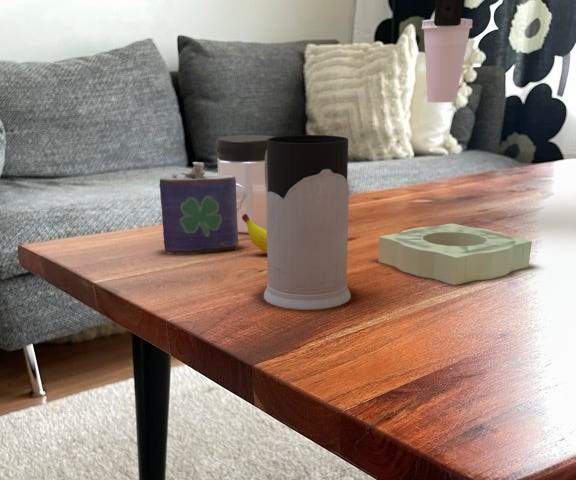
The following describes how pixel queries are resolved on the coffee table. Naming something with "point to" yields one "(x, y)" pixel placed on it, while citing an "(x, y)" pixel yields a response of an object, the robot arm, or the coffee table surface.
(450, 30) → the smoothie
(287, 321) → the coffee table surface
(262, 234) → the fruit
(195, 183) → the flask
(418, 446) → the coffee table surface
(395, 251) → the ashtray
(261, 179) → the jar
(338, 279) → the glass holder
